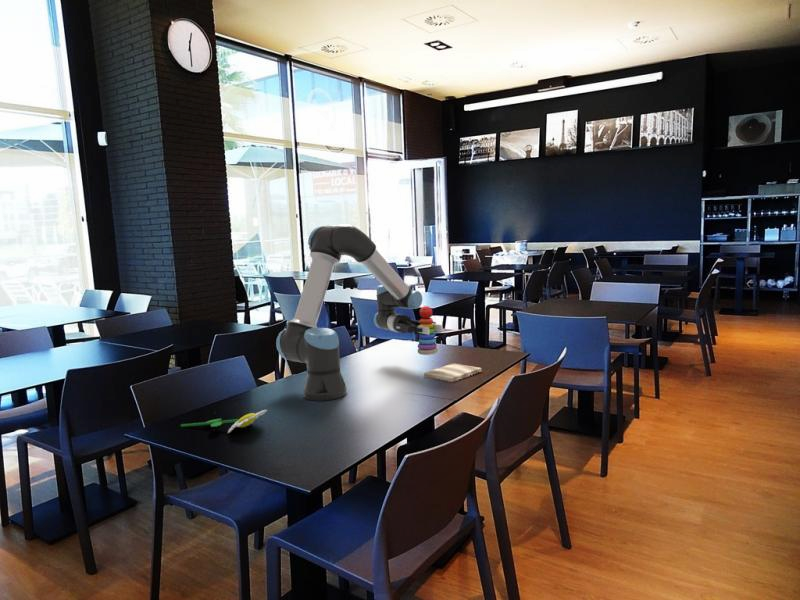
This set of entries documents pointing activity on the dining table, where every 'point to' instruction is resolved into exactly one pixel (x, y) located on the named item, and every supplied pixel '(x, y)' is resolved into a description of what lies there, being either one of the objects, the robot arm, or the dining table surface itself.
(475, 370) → the folded striped towel
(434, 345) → the stacking toy
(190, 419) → the dining table surface
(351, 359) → the dining table surface
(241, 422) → the decorative flower
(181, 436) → the dining table surface
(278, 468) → the dining table surface
